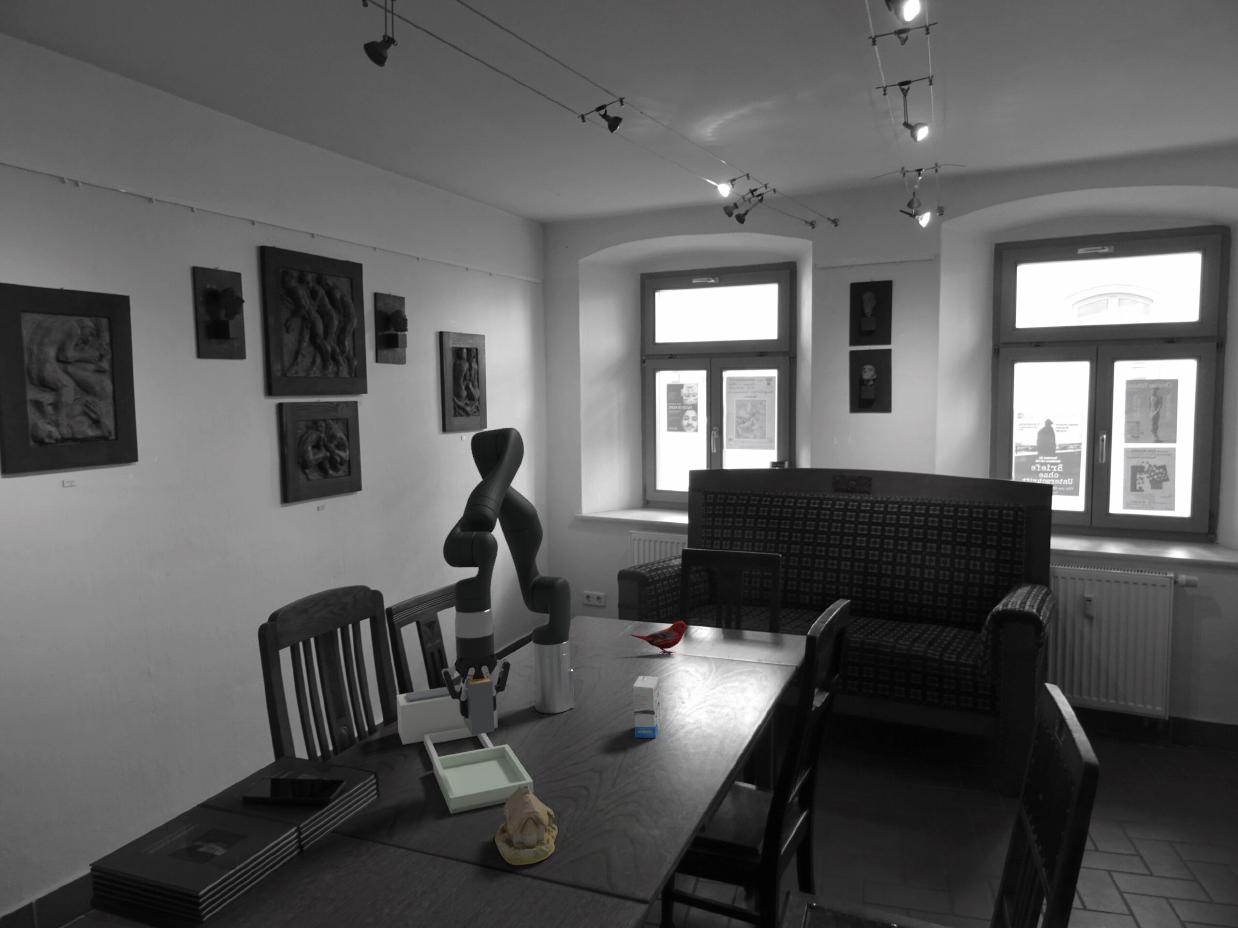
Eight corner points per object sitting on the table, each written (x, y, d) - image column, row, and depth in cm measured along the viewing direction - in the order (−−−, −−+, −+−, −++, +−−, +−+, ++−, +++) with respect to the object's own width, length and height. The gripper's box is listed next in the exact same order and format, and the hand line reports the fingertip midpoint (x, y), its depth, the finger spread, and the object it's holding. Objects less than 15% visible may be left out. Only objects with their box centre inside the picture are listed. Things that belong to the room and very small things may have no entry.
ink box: (655, 738, 186) (653, 687, 186) (633, 737, 187) (632, 687, 187) (661, 724, 195) (659, 675, 194) (640, 723, 196) (638, 674, 195)
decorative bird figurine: (689, 654, 250) (688, 621, 249) (631, 656, 250) (630, 623, 250) (689, 651, 253) (688, 619, 252) (631, 653, 253) (630, 621, 252)
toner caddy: (485, 717, 171) (483, 669, 170) (494, 731, 163) (492, 681, 162) (463, 721, 169) (461, 673, 168) (471, 735, 161) (469, 684, 161)
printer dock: (490, 716, 204) (488, 678, 203) (515, 753, 181) (513, 710, 180) (398, 732, 196) (396, 692, 195) (413, 772, 173) (410, 727, 172)
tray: (508, 757, 179) (507, 744, 179) (533, 796, 160) (533, 781, 160) (433, 771, 173) (432, 757, 173) (451, 813, 154) (450, 797, 154)
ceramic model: (492, 828, 149) (489, 774, 148) (554, 819, 151) (551, 766, 151) (499, 870, 135) (496, 810, 134) (567, 859, 138) (564, 801, 137)
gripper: (505, 622, 171) (508, 703, 172) (435, 631, 166) (439, 715, 167) (514, 631, 164) (517, 715, 165) (441, 640, 159) (445, 727, 160)
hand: (478, 714), depth 166 cm, fingers closed on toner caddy, 4 cm apart
